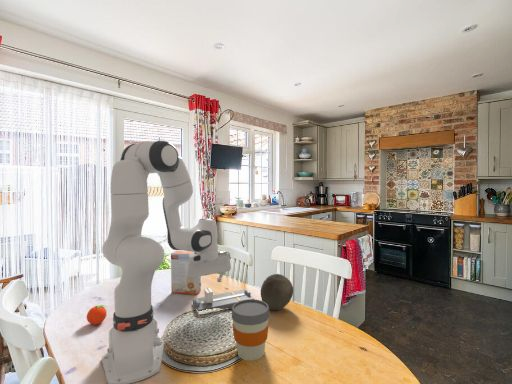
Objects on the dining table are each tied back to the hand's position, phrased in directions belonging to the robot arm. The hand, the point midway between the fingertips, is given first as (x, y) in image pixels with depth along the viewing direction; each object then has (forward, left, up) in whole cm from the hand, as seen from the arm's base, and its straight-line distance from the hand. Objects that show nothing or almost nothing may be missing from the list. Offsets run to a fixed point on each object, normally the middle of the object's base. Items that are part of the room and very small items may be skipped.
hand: (209, 283), depth 121 cm
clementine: (+6, +45, -11) cm, 46 cm away
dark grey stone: (-15, -26, -11) cm, 32 cm away
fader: (0, +1, -8) cm, 8 cm away
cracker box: (+22, +7, -11) cm, 25 cm away
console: (0, -6, -11) cm, 12 cm away
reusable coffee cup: (-38, -3, -11) cm, 40 cm away
